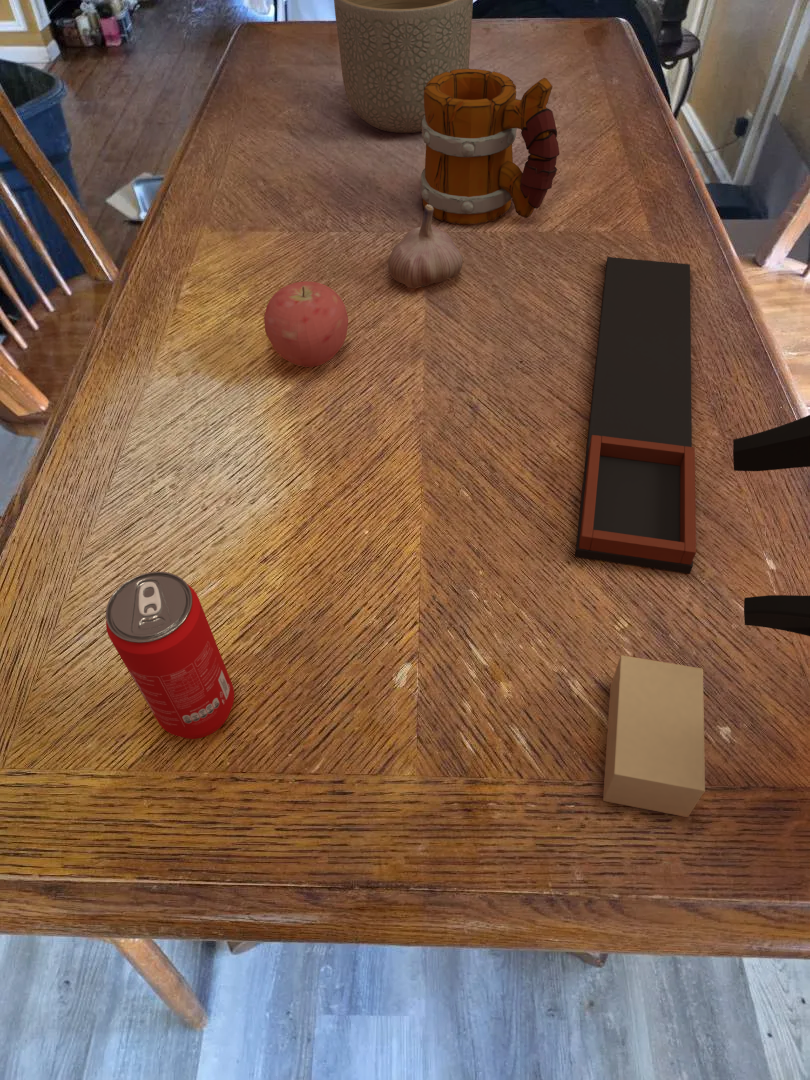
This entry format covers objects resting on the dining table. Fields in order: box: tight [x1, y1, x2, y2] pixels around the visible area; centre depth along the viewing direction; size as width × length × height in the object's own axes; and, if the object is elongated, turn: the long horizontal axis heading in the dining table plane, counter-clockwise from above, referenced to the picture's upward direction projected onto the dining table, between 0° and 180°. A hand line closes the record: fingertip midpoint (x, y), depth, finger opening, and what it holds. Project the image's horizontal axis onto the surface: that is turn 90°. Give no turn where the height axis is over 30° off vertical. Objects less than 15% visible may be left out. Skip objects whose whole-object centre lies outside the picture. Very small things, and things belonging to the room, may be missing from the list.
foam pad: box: [602, 654, 706, 818], centre depth 50 cm, size 5×8×4 cm, turn 168°
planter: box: [333, 0, 474, 134], centre depth 103 cm, size 17×17×15 cm
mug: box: [419, 68, 560, 226], centre depth 88 cm, size 11×16×15 cm, turn 56°
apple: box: [263, 280, 349, 368], centre depth 74 cm, size 7×7×8 cm
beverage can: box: [105, 571, 235, 740], centre depth 49 cm, size 5×5×12 cm
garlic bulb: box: [387, 204, 464, 289], centre depth 82 cm, size 8×7×8 cm
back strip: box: [574, 256, 697, 574], centre depth 72 cm, size 8×40×2 cm, turn 168°
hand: (738, 530), depth 37 cm, fingers open, 7 cm apart
